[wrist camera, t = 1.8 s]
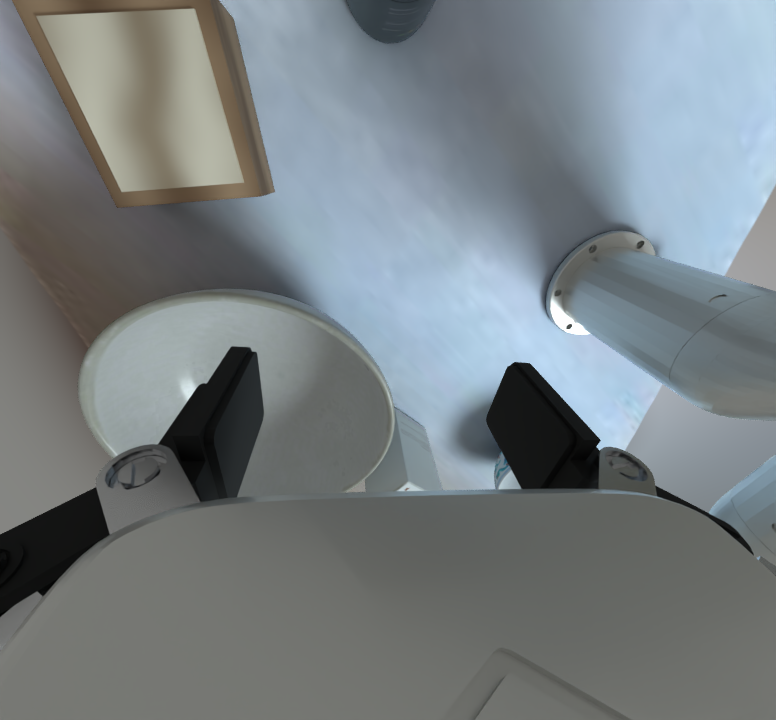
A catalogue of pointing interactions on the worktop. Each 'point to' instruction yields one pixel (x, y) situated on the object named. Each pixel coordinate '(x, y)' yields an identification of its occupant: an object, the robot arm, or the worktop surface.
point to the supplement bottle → (390, 17)
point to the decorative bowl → (277, 375)
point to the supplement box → (406, 461)
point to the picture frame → (155, 96)
